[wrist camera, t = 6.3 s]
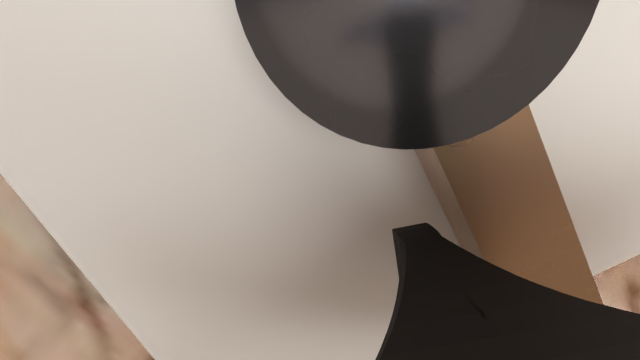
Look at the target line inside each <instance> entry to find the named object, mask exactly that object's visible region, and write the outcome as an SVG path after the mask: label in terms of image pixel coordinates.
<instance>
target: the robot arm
mask: <svg viewBox="0 0 640 360" xmlns="http://www.w3.org/2000/svg"><path fill="white" fill-rule="evenodd" d="M392 233H393V240H394V247H395V254H396V261H397V268H398V275H399V284H398V290H397V296H396V301H395V306H394V310H393V314H392V317H391V320H390V324H389V327H388V330H387V333H386V335H385V338H384V340H383V343H382V345H381V348H380V351H379V353H378V355H377V357H376V359H375V360H640V314H637V313H633V312H628V311H624V310H620V309H617V308H613V307H609V306H606V305H602V304H598V303H595V302H591V301H587V300H584V299H581V298H577V297H574V296H571V295H568V294H565V293H562V292H559V291H556V290H554V289H551V288H548V287H545V286H543V285H540V284H537V283H534V282H532V281H529V280H527V279H524V278H522V277H520V276H517V275H515V274H513V273H511V272H509V271H506V270H504V269H502V268H500V267H498V266H496V265H493V264H491V263H489V262H487V261H485V260H483V259H481V258H480V257H478V256H476V255H474V254H472V253H470V252H468V251H467V250H465V249H463V248H461V247H459V246H458V245H456V244H454V243H452V242H451V241H449V240H447V239H446V238H444V237H442V236H441V234H440V233H439V232H438V231H437V230H436V229H435V228H434V227H433V226H431V225H430V224H428V223H420V224H415V225H410V226H405V227H400V228H395V229H392Z"/></svg>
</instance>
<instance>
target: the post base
mask: <svg viewBox="0 0 640 360" xmlns="http://www.w3.org/2000/svg"><path fill="white" fill-rule="evenodd" d="M529 107H530V110H531V112H532V115H533V118H534V120H535V123H536V126H537V128H538V131H539V134H540V136H541V139H542V142H543V144H544V147H545V150H546V152H547V155H548V158H549V160H550V163H551V166H552V169H553V171H554V174H555V177H556V179H557V182H558V185H559V187H560V190H561V193H562V195H563V198H564V201H565V203H566V206H567V209H568V211H569V214H570V217H571V219H572V222H573V225H574V228H575V230H576V233H577V236H578V238H579V241H580V244H581V246H582V249H583V252H584V254H585V257H586V260H587V262H588V265H589V268H590V270H591V273H592V276H595V275H597V274H599V273H601V272H603V271H605V270H608V269H610V268H612V267H614V266H616V265H618V264H620V263H622V262H625V261H627V260H629V259H631V258H633V257H635V256H637V255H640V0H599V3H598V5H597V8H596V10H595V13H594V15H593V18H592V20H591V23H590V25H589V27H588V29H587V31H586V33H585V35H584V36H583V38H582V40H581V42H580V44H579V46H578V48H577V49H576V51H575V52H574V54H573V55H572V56H571V58H570V59H569V61H568V62H567V64H566V65H565V67H564V68H563V69H562V71H561V72H560V73H559V74H558V75H557V76H556V78H555V79H554V80H553V81H552V82H551V83H550V85H549V86H548V87H547V88H546V89H545V90H544V91H543V92H542V93H541V94H539V95H538V96H537V97H536V98H535V99H534V100H533V101H532V102H531V103H530V104H529ZM0 174H1V175H2V176H3V178H4V179H5V180H6V181H7V182H8V184H9V185H10V186H11V187H12V188H13V190H14V191H15V192H16V193H17V194H18V196H19V197H20V198H21V199H22V200H23V202H24V203H25V204H26V205H27V206H28V208H29V209H30V210H31V211H32V212H33V214H34V215H35V216H36V217H37V219H38V220H39V221H40V222H41V223H42V225H43V226H44V227H45V228H46V229H47V231H48V232H49V233H50V234H51V235H52V237H53V238H54V239H55V240H56V241H57V243H58V244H59V245H60V246H61V247H62V249H63V250H64V251H65V252H66V253H67V255H68V256H69V257H70V258H71V259H72V261H73V262H74V263H75V264H76V265H77V267H78V268H79V269H80V270H81V272H82V273H83V274H84V275H85V276H86V278H87V279H88V280H89V281H90V282H91V284H92V285H93V286H94V287H95V288H96V290H97V291H98V292H99V293H100V294H101V296H102V297H103V298H104V299H105V300H106V302H107V303H108V304H109V305H110V306H111V308H112V309H113V310H114V311H115V312H116V314H117V315H118V316H119V317H120V318H121V320H122V321H123V322H124V323H125V325H126V326H127V327H128V328H129V329H130V331H131V332H132V333H133V334H134V335H135V337H136V338H137V339H138V340H139V341H140V343H141V344H142V345H143V346H144V347H145V349H146V350H147V351H148V352H149V353H150V355H151V356H152V357H153V358H154V359H155V360H375V359H376V357H377V355H378V353H379V351H380V348H381V345H382V343H383V340H384V338H385V335H386V333H387V330H388V327H389V324H390V320H391V317H392V314H393V310H394V306H395V301H396V296H397V290H398V284H399V275H398V268H397V261H396V254H395V247H394V240H393V233H392V229H395V228H400V227H405V226H410V225H415V224H420V223H428V224H430V225H431V226H433V227H434V228H435V229H436V230H437V231H438V232H439V233H440V234H441V236H442V237H444V238H446V239H447V240H449V241H451V242H452V243H454V244H456V245H458V246H459V247H460V245H459V242H458V240H457V238H456V236H455V234H454V232H453V230H452V228H451V226H450V224H449V221H448V219H447V217H446V215H445V213H444V211H443V209H442V207H441V205H440V202H439V200H438V198H437V196H436V194H435V192H434V190H433V188H432V186H431V184H430V181H429V179H428V177H427V175H426V173H425V171H424V169H423V167H422V165H421V163H420V160H419V158H418V156H417V154H416V152H415V150H414V149H407V150H403V149H392V148H382V147H377V146H372V145H368V144H363V143H360V142H357V141H354V140H351V139H349V138H346V137H343V136H340V135H338V134H337V133H335V132H333V131H331V130H329V129H327V128H325V127H323V126H321V125H320V124H318V123H317V122H315V121H314V120H312V119H311V118H310V117H308V116H307V115H305V114H304V113H302V112H301V111H300V110H299V109H298V108H297V107H296V106H295V105H294V104H292V103H291V102H290V101H289V100H288V99H287V98H286V97H285V96H284V95H283V94H282V93H281V91H280V90H279V89H278V88H277V87H276V86H275V84H274V83H273V82H272V81H271V80H270V78H269V77H268V75H267V74H266V72H265V71H264V69H263V68H262V66H261V65H260V63H259V61H258V60H257V58H256V56H255V54H254V52H253V50H252V48H251V46H250V44H249V42H248V40H247V38H246V36H245V33H244V30H243V27H242V24H241V21H240V18H239V15H238V12H237V9H236V4H235V0H0Z"/></svg>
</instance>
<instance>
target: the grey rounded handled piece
mask: <svg viewBox="0 0 640 360" xmlns="http://www.w3.org/2000/svg"><path fill="white" fill-rule="evenodd" d="M598 3H599V0H235V4H236V9H237V12H238V15H239V18H240V21H241V24H242V27H243V30H244V33H245V36H246V38H247V40H248V42H249V44H250V46H251V48H252V50H253V52H254V54H255V56H256V58H257V60H258V61H259V63H260V65H261V66H262V68H263V69H264V71H265V72H266V74H267V75H268V77H269V78H270V80H271V81H272V82H273V83H274V84H275V86H276V87H277V88H278V89H279V90H280V91H281V93H282V94H283V95H284V96H285V97H286V98H287V99H288V100H289V101H290V102H291V103H292V104H294V105H295V106H296V107H297V108H298V109H299V110H300V111H301V112H302V113H304V114H305V115H307V116H308V117H310V118H311V119H312V120H314V121H315V122H317V123H318V124H320V125H321V126H323V127H325V128H327V129H329V130H331V131H333V132H335V133H337V134H338V135H340V136H343V137H346V138H349V139H351V140H354V141H357V142H360V143H363V144H368V145H372V146H377V147H382V148H392V149H403V150H407V149H414V150H415V152H416V154H417V156H418V158H419V160H420V163H421V165H422V167H423V169H424V171H425V173H426V175H427V177H428V179H429V181H430V184H431V186H432V188H433V190H434V192H435V194H436V196H437V198H438V200H439V202H440V205H441V207H442V209H443V211H444V213H445V215H446V217H447V219H448V221H449V224H450V226H451V228H452V230H453V232H454V234H455V236H456V238H457V240H458V242H459V245H460V247H461V248H463V249H465V250H467V251H468V252H470V253H472V254H474V255H476V256H478V257H480V258H481V259H483V260H485V261H487V262H489V263H491V264H493V265H496V266H498V267H500V268H502V269H504V270H506V271H509V272H511V273H513V274H515V275H517V276H520V277H522V278H524V279H527V280H529V281H532V282H534V283H537V284H540V285H543V286H545V287H548V288H551V289H554V290H556V291H559V292H562V293H565V294H568V295H571V296H574V297H577V298H581V299H584V300H587V301H591V302H595V303H598V304H602V305H603V303H602V300H601V297H600V295H599V292H598V289H597V287H596V284H595V281H594V278H593V276H592V273H591V270H590V268H589V265H588V262H587V260H586V257H585V254H584V252H583V249H582V246H581V244H580V241H579V238H578V236H577V233H576V230H575V228H574V225H573V222H572V219H571V217H570V214H569V211H568V209H567V206H566V203H565V201H564V198H563V195H562V193H561V190H560V187H559V185H558V182H557V179H556V177H555V174H554V171H553V169H552V166H551V163H550V160H549V158H548V155H547V152H546V150H545V147H544V144H543V142H542V139H541V136H540V134H539V131H538V128H537V126H536V123H535V120H534V118H533V115H532V112H531V110H530V107H529V104H530V103H531V102H532V101H533V100H534V99H535V98H536V97H537V96H538V95H539V94H541V93H542V92H543V91H544V90H545V89H546V88H547V87H548V86H549V85H550V83H551V82H552V81H553V80H554V79H555V78H556V76H557V75H558V74H559V73H560V72H561V71H562V69H563V68H564V67H565V65H566V64H567V62H568V61H569V59H570V58H571V56H572V55H573V54H574V52H575V51H576V49H577V48H578V46H579V44H580V42H581V40H582V38H583V36H584V35H585V33H586V31H587V29H588V27H589V25H590V23H591V20H592V18H593V15H594V13H595V10H596V8H597V5H598Z"/></svg>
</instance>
